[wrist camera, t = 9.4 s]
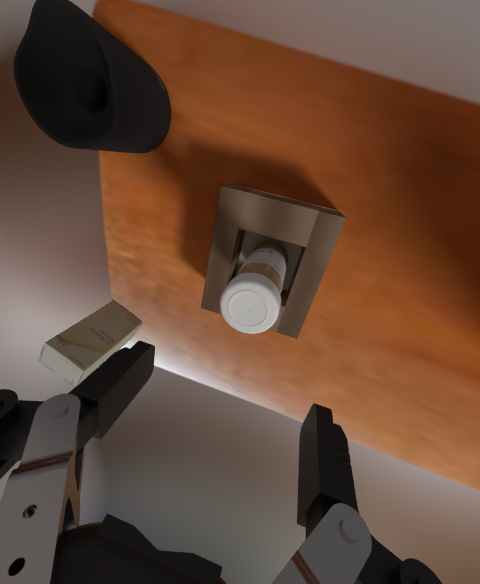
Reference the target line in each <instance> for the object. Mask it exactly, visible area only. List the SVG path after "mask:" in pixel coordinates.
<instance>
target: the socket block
mask: <svg viewBox="0 0 480 584" xmlns="http://www.w3.org/2000/svg"><path fill="white" fill-rule="evenodd" d="M345 220H346V217H345V216H344V215H343V214H341V213H340V212H339V211H338V210H335V209H331V208H327V207H323V206H319V205H315V204H311V203H307V202H303V201H299V200H295V199H292V198H288V197H284V196H280V195H276V194H272V193H268V192H264V191H260V190H256V189H253V188H249V187H245V186H241V185H237V184H236V185H223V186H221V190H220V196H219V202H218V208H217V214H216V220H215V226H214V232H213V238H212V244H211V250H210V256H209V262H208V268H207V274H206V280H205V286H204V292H203V298H202V304H201V308H203V309H206V310H209V311H212V312H215V313H219V314H222V313H221V309H220V299H221V295H222V293H223V291H224V290H225V288H226V287H227V285H228V284H229V282H230V281H231V280H232V279H233V278H235V277H236V276H237V274H238V272H239V270H240V268H241V267H242V265H243V264H244V263H245V261H246V260H247V259H248V257H249V256H250V254H251V253H252V252H253V250H254V248H255V247H256V246H257V245H258V244H260V243H262V242H264V241H275V242H277V243H279V244H281V245H282V246H283V247H284V248H285V250H286V251H287V254H288V263H287V267H286V272H285V277H284V281H283V287H282V291H281V294H280V296H281V305H280V310H279V315H278V318H277V320H276V322H275V323H274V324H273V325H272V326H271V327H270V328H269V329H268V330H271V331H274V332H277V333H280V334H283V335H287V336H290V337H293V338H296V339H297V338H298V335H299V333H300V330H301V328H302V325H303V323H304V321H305V318H306V316H307V313H308V311H309V308H310V306H311V303H312V301H313V298H314V296H315V293H316V291H317V289H318V286H319V284H320V281H321V279H322V276H323V274H324V271H325V269H326V266H327V264H328V261H329V259H330V257H331V254H332V252H333V249H334V247H335V244H336V242H337V239H338V237H339V234H340V232H341V229H342V227H343V225H344V222H345Z"/></svg>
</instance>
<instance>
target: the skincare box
mask: <svg viewBox="0 0 480 584" xmlns="http://www.w3.org/2000/svg"><path fill="white" fill-rule="evenodd" d="M141 324H142V322H140V321H139V320H138V319H137V318H135V317H134V316H133V315H132V314H130V313H129V312H128V311H127V310H125V309H124V308H123V307H121V306H120V305H119V304H118V303H116V302H115V301H112V302H110V303H109V304H107V305H106V306H104V307H102V308H101V309H99V310H98V311H96V312H94V313H93V314H91V315H90V316H88V317H86V318H84V319H83V320H81V321H80V322H78V323H76V324H75V325H73V326H72V327H70V328H68V329H67V330H65V331H63V332H62V333H60V334H59V335H57V336H55V337H54V338H52V339H50V340H49V341H48V342H46V343H44V346H43V348H42V351H41V353H40V356H39V359H38V361H39V362H41V363H42V364H43V365H45V366H46V367H47V368H49V369H50V370H52V371H53V372H54V373H55V374H57V375H58V376H60V377H61V378H62V379H64V380H65V381H67V382H68V383H69V384H71V385H72V386H73V387H76V386H77V385H78V384H80V383H81V382H82V381H83V380H84V379H85V378H86V377H87V376H89V375H90V374H91V373H92V372H93V371H94V370H95V369H96V368H99V366H100V365H101V364H102V363H103V362H104V361H106V360H107V359H108V358H109V357H110V356H111V355H112V354H113V353H114V352H116V351H118V350H119V349H120V348H121V347H123V346H124V345H125V344H126V343H127V342H128V341H129V340H130V339H132V338H133V337H134V335H135V334H136V332H137V331H138V329H139V327H140V326H141Z"/></svg>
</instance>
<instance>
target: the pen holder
mask: <svg viewBox="0 0 480 584" xmlns="http://www.w3.org/2000/svg"><path fill="white" fill-rule="evenodd" d="M14 76H15V81H16V85H17V89H18V91H19V94H20V96H21V99H22V101H23V103H24V105H25V107H26V109H27V111H28V112H29V114H30V116H31V117H32V119H33V120H34V121H35V123H36V124H37V125H38V126H39V128H41V130H42V131H43V132H44V133H45V134H47V135H48V136H49V137H50V138H51V139H53V140H54V141H56V142H58V143H60V144H62V145H64V146H67V147H71V148H78V149H90V150H102V151H114V152H126V153H146V152H150V151H152V150H154V149H156V148H157V147H158V146H159V145H160V144H161V143H162V142H163V140H164V139H165V137H166V135H167V133H168V130H169V126H170V120H171V107H170V100H169V96H168V93H167V90H166V88H165V85H164V83H163V82H162V80H161V78H160V77H159V75H158V74H157V73H156V72H155V71H154V70H153V69H152V68H151V67H150V66H149V65H148V64H147V63H145V62H144V61H143V60H142V59H141V58H140V57H139V56H137V55H136V54H135V53H134V52H133V51H131V50H130V49H129V48H128V47H127V46H125V45H124V44H123V43H122V42H120V41H119V40H118V39H117V38H116V37H114V36H113V35H112V34H111V33H110V32H108V31H107V30H106V29H105V28H103V27H102V26H101V25H100V24H99V23H97V22H96V21H95V20H94V19H93V18H91V17H90V16H89V15H88V14H86V13H85V12H84V11H83V10H81V9H80V8H79V7H78V6H76V5H75V4H73V3H72V2H71V1H69V0H36V2H35V4H34V6H33V9H32V12H31V16H30V21H29V25H28V28H27V31H26V33H25V35H24V37H23V39H22V41H21V43H20V45H19V48H18V50H17V52H16V55H15V59H14Z"/></svg>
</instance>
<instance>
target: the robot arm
mask: <svg viewBox="0 0 480 584" xmlns="http://www.w3.org/2000/svg"><path fill="white" fill-rule="evenodd" d="M154 355H155V346H154V345H151V344H148V343H145V342H142V341H138V342H137V343H136V344H135V345H134V346H133V347H132V348H131V349H129V348H126V347H125V348H123V349H121V350H119V351H116V352H114V353H113V354H112V355H111V356H110V357H109V358H108V359H107V360H106V361H104V362H103V363H102V364H101V365H100V366H99V368H96V369H95V370H94V371H93V372H92V373H91V374H90V375H89V376H87V377H86V378H85V379H84V380H83V381H82V382H81V383H80V384H78V385H77V386H76V387H75V388H74V389H73V390H72V391H71V392H69V393H68V394H60V395H56V396H54V397H51V398H49V399H48V400H46V401H23V400H18V396H17V394H16V393H15V392H14V391H12V390H7V389H1V390H0V479H1V478H2V477H3V476H4V475H5V474H6V473H7V472H8V471H9V469H10V468H11V467H12V466H13V465H14V464H15V463H16V462H17V461H18V460H19V461H21V463H20V465H19V467H18V468H17V469H14V470H13V471H12V472H11V474H10V476H9V478H8V481H7V484H6V487H5V490H4V493H3V496H2V500H1V502H0V584H226V583H225V581H224V580H223V579H222V578H221V577H220V575H221V570H222V567H221V566H219V565H217V564H215V563H213V562H211V561H208V560H206V559H204V558H202V557H200V556H198V555H196V554H194V553H184V552H169V551H160V550H158V549H156V548H155V547H154V546H153V545H152V544H151V543H150V542H149V541H148V540H147V539H146V538H145V537H144V536H143V534H142V533H141V532H140V531H139V530H138V529H136V527H135V526H133V525H131V524H129V523H127V522H124V521H122V520H120V519H118V518H116V517H114V516H112V515H109V514H107V515H106V517H105V518H104V520H103V522H102V523H100V522H97V523H89V524H85V525H81V526H79V521H80V493H81V484H82V474H83V465H84V456H85V445H86V443H87V442H88V441H89V440H90V438H91V437H92V436H93V437H95V438H98V439H100V440H101V439H102V438H103V436H104V435H105V434H106V433H107V431H108V430H109V429H110V427H111V426H112V425H113V424H114V422H115V421H116V420H117V419H118V417H119V416H120V415H121V414H122V412H123V411H124V410H125V409H126V407H127V406H128V405H129V404H130V402H131V401H132V400H133V399H134V397H135V396H136V395H137V394H138V392H139V391H140V390H141V389H142V387H143V386H144V385H145V383H146V382H147V381H148V380H149V378H150V376H151V374H152V372H153V368H154ZM298 477H299V478H298V508H297V509H298V510H297V524H299V525H301V526H303V527H306V540H305V541H304V543H303V544H302V545H301V546H300V548H299V549H298V550H297V551H296V553H295V554H294V555H293V557H292V558H291V559H290V561H289V562H288V563H287V564H286V566H285V567H284V568H283V570H282V571H281V572H280V574H279V575H278V576H277V577H276V579H275V580H274V581H273V583H272V584H442V583H441V581H440V580H439V579H438V577H437V576H436V575H435V574H434V573H433V571H432V570H430V568H428V567H427V566H426V565H425V564H423V563H422V562H420V561H418V560H416V559H412V558H409V559H406V560H404V561H402V560H400V559H399V558H398V557H396V556H395V555H394V554H393V553H392V552H390V551H389V550H388V549H387V548H385V547H384V546H383V545H382V544H380V543H379V542H378V541H377V540H376V539H375V538H374V537H373V536H372V535H371V533H370V532H369V529H368V527H367V525H366V523H365V521H364V520H363V518H362V517H361V516H360V514H359V511H358V507H357V501H356V495H355V488H354V481H353V475H352V468H351V465H350V455H349V448H348V442H347V438H346V436H345V434H344V432H343V430H342V428H341V426H340V425H337V424H334V423H333V417H332V411H331V409H329V408H326V407H323V406H321V405H318V404H315V403H314V404H313V405H312V407H311V409H310V411H309V413H308V415H307V417H306V418H305V420H304V422H303V425H302V428H301V432H300V442H299V476H298Z"/></svg>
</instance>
